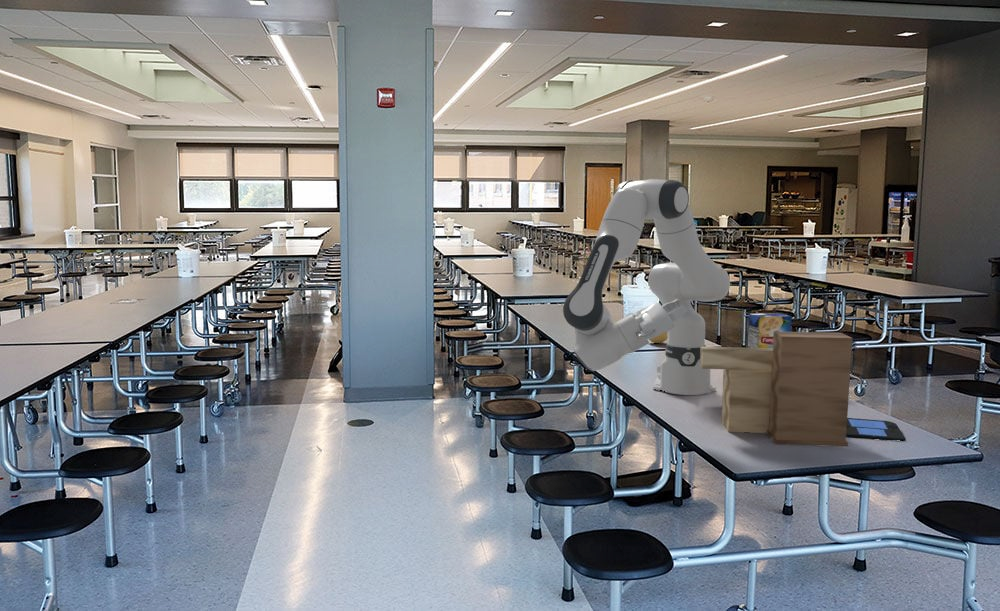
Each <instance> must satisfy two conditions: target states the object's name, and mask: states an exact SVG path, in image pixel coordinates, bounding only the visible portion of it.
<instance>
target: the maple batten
mask: <svg viewBox="0 0 1000 611" xmlns="http://www.w3.org/2000/svg"><path fill="white" fill-rule="evenodd" d="M772 354H773V348H748V347H737V346H736V347H728V346H724V347H723V346H706V347H701V349H700V367H701V368H702V369H710V370H724V369H735V370H772Z"/></svg>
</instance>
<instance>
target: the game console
mask: <svg viewBox="0 0 1000 611" xmlns="http://www.w3.org/2000/svg"><path fill="white" fill-rule="evenodd" d="M846 438H850V439H851V438H852V439H864V440H874V439H879V440H878V441H887V440H900V441H905V442H906V439H907V438H906V437H905V435H904V434H903V432H902V430H901V429H900V427H899V426H898V425H897V423H896V422H893V421H888V420H880V419H866V418H853V417H847V430H846ZM900 441H899V442H900Z"/></svg>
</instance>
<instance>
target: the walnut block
mask: <svg viewBox="0 0 1000 611" xmlns="http://www.w3.org/2000/svg"><path fill="white" fill-rule="evenodd" d="M852 350H853V337H852V336H848V335H847V334H844V333H842V332H815V331H813V332H812V331H811V332H810V331H791V332H774V335H773V354H772V374H771V393H770V413H769V430H766V433H765V434H766V436H768V438H769V439H770V440H771V442H772V443H773V444H774V445H781V446H782V445H783V446H784V445H785V446H786V445H787V446H788V445H789V446H812V447H813V446H819V447H846V448H847V447H849V442H848V441H847V437H846V430H847V418H848V411H849V400H850V399H849V398H850V397H849V395H850V382H851V380H850V379H851V367H852V366H851V364H852Z"/></svg>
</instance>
